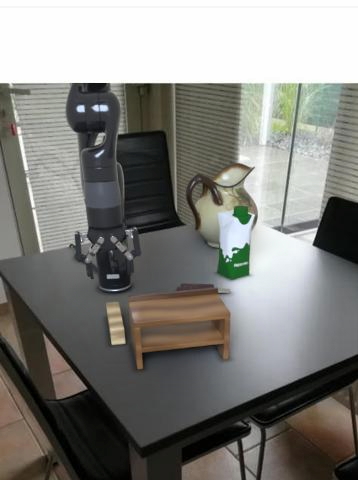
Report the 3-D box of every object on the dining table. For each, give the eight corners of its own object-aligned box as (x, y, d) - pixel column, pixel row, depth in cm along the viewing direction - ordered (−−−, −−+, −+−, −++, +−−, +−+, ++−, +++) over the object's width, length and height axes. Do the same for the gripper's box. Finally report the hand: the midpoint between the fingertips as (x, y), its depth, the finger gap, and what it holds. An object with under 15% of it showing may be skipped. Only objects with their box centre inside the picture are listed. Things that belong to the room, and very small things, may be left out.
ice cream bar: (230, 290, 136) (178, 288, 138) (230, 284, 135) (178, 283, 137) (230, 297, 132) (176, 296, 134) (230, 291, 131) (175, 290, 133)
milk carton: (230, 281, 141) (233, 211, 130) (212, 272, 148) (214, 205, 137) (253, 275, 145) (258, 206, 134) (235, 266, 152) (238, 200, 140)
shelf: (132, 345, 111) (127, 295, 104) (216, 335, 114) (217, 287, 107) (137, 369, 102) (133, 317, 95) (228, 359, 105) (230, 307, 98)
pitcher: (260, 236, 177) (266, 162, 163) (248, 257, 159) (253, 176, 145) (202, 232, 183) (202, 160, 169) (184, 252, 165) (182, 173, 150)
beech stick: (107, 317, 123) (105, 302, 121) (119, 316, 124) (118, 301, 121) (111, 345, 111) (110, 329, 109) (125, 343, 112) (124, 328, 109)
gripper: (134, 196, 105) (139, 268, 114) (68, 200, 103) (79, 273, 112) (138, 204, 99) (143, 279, 108) (68, 208, 97) (79, 285, 106)
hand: (110, 276), depth 110 cm, fingers open, 8 cm apart
